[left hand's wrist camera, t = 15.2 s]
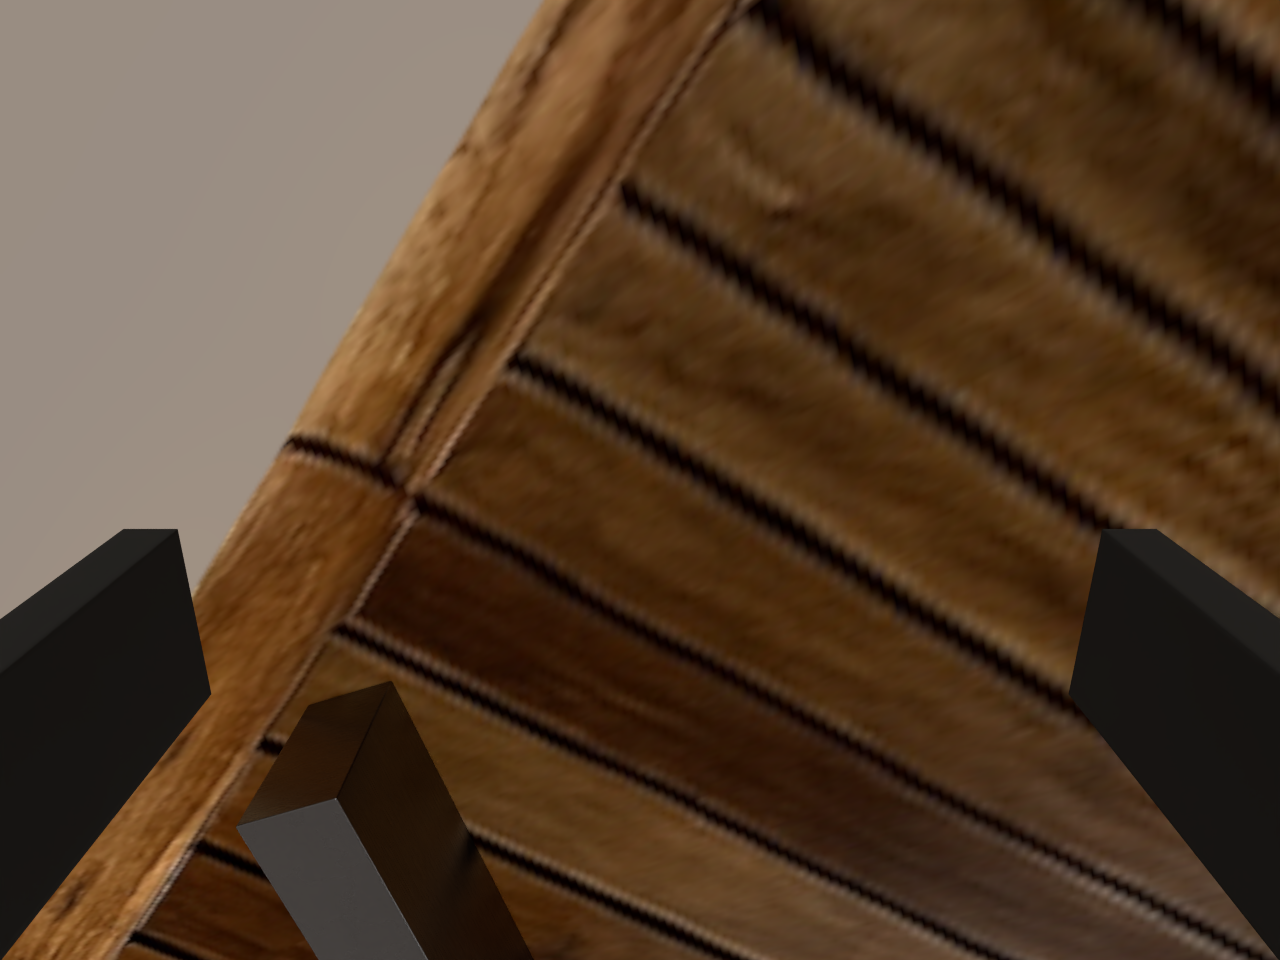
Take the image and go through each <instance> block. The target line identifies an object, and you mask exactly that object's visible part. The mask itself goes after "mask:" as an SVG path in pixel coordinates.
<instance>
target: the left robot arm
mask: <svg viewBox="0 0 1280 960" xmlns="http://www.w3.org/2000/svg"><path fill="white" fill-rule="evenodd" d="M210 695H211V690H210V685H209V680H208V676H207V671H206V666H205V661H204V656H203V651H202V646H201V641H200V636H199V632H198V627H197V622H196V617H195V612H194V607H193V602H192V597H191V592H190V588H189V583H188V578H187V573H186V568H185V563H184V558H183V553H182V548H181V544H180V539H179V534H178V529H123V530H122V531H120V532H119V533H118V534H116V535H115V536H113V537H112V538H111V539H109V540H108V541H107V542H105V543H104V544H103V545H101V546H100V547H98V548H97V549H96V550H94V551H93V552H92V553H90V554H89V555H88V556H86V557H85V558H83V559H82V560H81V561H79V562H78V563H77V564H75V565H74V566H72V567H71V568H70V569H68V570H67V571H66V572H64V573H63V574H62V575H60V576H59V577H57V578H56V579H55V580H53V581H52V582H51V583H49V584H48V585H46V586H45V587H44V588H42V589H41V590H40V591H38V592H37V593H36V594H34V595H33V596H31V597H30V598H29V599H27V600H26V601H25V602H23V603H22V604H20V605H19V606H18V607H16V608H15V609H14V610H12V611H11V612H10V613H8V614H7V615H5V616H4V617H3V618H1V619H0V960H2V958H3V957H4V956H5V954H6V953H7V952H8V951H9V949H10V948H11V947H12V946H13V944H14V943H15V942H16V941H17V939H18V938H19V937H20V935H21V934H22V933H23V932H24V930H25V929H26V928H27V927H28V925H29V924H30V923H31V922H32V920H33V919H34V918H35V917H36V915H37V914H38V913H39V911H40V910H41V909H42V908H43V906H44V905H45V904H46V903H47V901H48V900H49V899H50V898H51V896H52V895H53V894H54V892H55V891H56V890H57V889H58V887H59V886H60V885H61V884H62V882H63V881H64V880H65V879H66V877H67V876H68V875H69V873H70V872H71V871H72V870H73V868H74V867H75V866H76V865H77V863H78V862H79V861H80V860H81V858H82V857H83V856H84V854H85V853H86V852H87V851H88V849H89V848H90V847H91V846H92V844H93V843H94V842H95V841H96V839H97V838H98V837H99V836H100V834H101V833H102V832H103V830H104V829H105V828H106V827H107V825H108V824H109V823H110V822H111V820H112V819H113V818H114V817H115V815H116V814H117V813H118V811H119V810H120V809H121V808H122V806H123V805H124V804H125V803H126V801H127V800H128V799H129V798H130V796H131V795H132V794H133V792H134V791H135V790H136V789H137V787H138V786H139V785H140V784H141V782H142V781H143V780H144V779H145V777H146V776H147V775H148V774H149V772H150V771H151V770H152V768H153V767H154V766H155V765H156V763H157V762H158V761H159V760H160V758H161V757H162V756H163V755H164V753H165V752H166V751H167V749H168V748H169V747H170V746H171V744H172V743H173V742H174V741H175V739H176V738H177V737H178V736H179V734H180V733H181V732H182V730H183V729H184V728H185V727H186V725H187V724H188V723H189V722H190V720H191V719H192V718H193V717H194V715H195V714H196V713H197V711H198V710H199V709H200V708H201V706H202V705H203V704H204V703H205V701H206V700H207V699H208V698H209V696H210ZM1069 695H1070V696H1071V698H1072V699H1073V700H1074V701H1075V703H1076V704H1077V705H1078V706H1079V708H1080V709H1081V710H1082V711H1083V713H1084V714H1085V715H1086V717H1087V718H1088V719H1089V720H1090V722H1091V723H1092V724H1093V725H1094V727H1095V728H1096V729H1097V730H1098V732H1099V733H1100V734H1101V736H1102V737H1103V738H1104V739H1105V741H1106V742H1107V743H1108V744H1109V746H1110V747H1111V748H1112V749H1113V751H1114V752H1115V753H1116V755H1117V756H1118V757H1119V758H1120V760H1121V761H1122V762H1123V763H1124V765H1125V766H1126V767H1127V768H1128V770H1129V771H1130V772H1131V774H1132V775H1133V776H1134V777H1135V779H1136V780H1137V781H1138V782H1139V784H1140V785H1141V786H1142V787H1143V789H1144V790H1145V791H1146V792H1147V794H1148V795H1149V796H1150V798H1151V799H1152V800H1153V801H1154V803H1155V804H1156V805H1157V806H1158V808H1159V809H1160V810H1161V811H1162V813H1163V814H1164V815H1165V817H1166V818H1167V819H1168V820H1169V822H1170V823H1171V824H1172V825H1173V827H1174V828H1175V829H1176V830H1177V832H1178V833H1179V834H1180V836H1181V837H1182V838H1183V839H1184V841H1185V842H1186V843H1187V844H1188V846H1189V847H1190V848H1191V849H1192V851H1193V852H1194V853H1195V854H1196V856H1197V857H1198V858H1199V860H1200V861H1201V862H1202V863H1203V865H1204V866H1205V867H1206V868H1207V870H1208V871H1209V872H1210V873H1211V875H1212V876H1213V877H1214V879H1215V880H1216V881H1217V882H1218V884H1219V885H1220V886H1221V887H1222V889H1223V890H1224V891H1225V892H1226V894H1227V895H1228V896H1229V898H1230V899H1231V900H1232V901H1233V903H1234V904H1235V905H1236V906H1237V908H1238V909H1239V910H1240V911H1241V913H1242V914H1243V915H1244V917H1245V918H1246V919H1247V920H1248V922H1249V923H1250V924H1251V925H1252V927H1253V928H1254V929H1255V930H1256V932H1257V933H1258V934H1259V935H1260V937H1261V938H1262V939H1263V941H1264V942H1265V943H1266V944H1267V946H1268V947H1269V948H1270V949H1271V951H1272V952H1273V953H1274V954H1275V956H1276V957H1277V958H1278V960H1280V619H1279V618H1277V617H1276V616H1275V615H1273V614H1272V613H1270V612H1269V611H1268V610H1266V609H1265V608H1264V607H1262V606H1261V605H1260V604H1258V603H1257V602H1255V601H1254V600H1253V599H1251V598H1250V597H1249V596H1247V595H1246V594H1244V593H1243V592H1242V591H1240V590H1239V589H1238V588H1236V587H1235V586H1234V585H1232V584H1231V583H1229V582H1228V581H1227V580H1225V579H1224V578H1223V577H1221V576H1220V575H1219V574H1217V573H1216V572H1214V571H1213V570H1212V569H1210V568H1209V567H1208V566H1206V565H1205V564H1203V563H1202V562H1201V561H1199V560H1198V559H1197V558H1195V557H1194V556H1193V555H1191V554H1190V553H1188V552H1187V551H1186V550H1184V549H1183V548H1182V547H1180V546H1179V545H1177V544H1176V543H1175V542H1173V541H1172V540H1171V539H1169V538H1168V537H1167V536H1165V535H1164V534H1162V533H1161V532H1160V531H1158V530H1157V529H1102V534H1101V539H1100V544H1099V548H1098V553H1097V558H1096V563H1095V568H1094V573H1093V578H1092V583H1091V588H1090V592H1089V597H1088V602H1087V607H1086V612H1085V617H1084V622H1083V627H1082V632H1081V636H1080V641H1079V646H1078V651H1077V656H1076V661H1075V666H1074V671H1073V676H1072V680H1071V685H1070V690H1069Z"/></svg>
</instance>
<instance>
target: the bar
mask: <svg viewBox="0 0 1280 960" xmlns="http://www.w3.org/2000/svg"><path fill="white" fill-rule="evenodd" d="M236 828H237V830H238V832H239V833H240V835H241V836H242V838H243V840H244V841H245V843H246V844H247V846H248V848H249V849H250V851H251V852H252V854H253V856H254V857H255V859H256V860H257V862H258V864H259V865H260V867H261V868H262V870H263V871H264V873H265V875H266V876H267V878H268V879H269V881H270V883H271V884H272V886H273V887H274V889H275V891H276V892H277V894H278V895H279V897H280V899H281V900H282V902H283V903H284V905H285V907H286V908H287V910H288V911H289V913H290V915H291V916H292V918H293V919H294V921H295V923H296V924H297V926H298V927H299V929H300V931H301V932H302V934H303V935H304V937H305V939H306V940H307V942H308V943H309V945H310V947H311V948H312V950H313V951H314V953H315V954H316V956H317V958H318V959H319V960H533V958H532V956H531V954H530V952H529V950H528V948H527V947H526V945H525V943H524V941H523V939H522V937H521V935H520V933H519V931H518V929H517V927H516V925H515V923H514V921H513V919H512V917H511V915H510V913H509V911H508V909H507V907H506V905H505V903H504V901H503V899H502V897H501V895H500V893H499V892H498V890H497V888H496V886H495V884H494V882H493V880H492V878H491V876H490V874H489V872H488V870H487V868H486V866H485V864H484V862H483V860H482V858H481V856H480V854H479V852H478V850H477V848H476V846H475V844H474V842H473V840H472V838H471V837H470V835H469V833H468V831H467V829H466V827H465V825H464V823H463V821H462V819H461V817H460V815H459V813H458V811H457V809H456V807H455V805H454V803H453V801H452V799H451V797H450V795H449V793H448V791H447V789H446V787H445V785H444V783H443V782H442V780H441V778H440V776H439V774H438V772H437V770H436V768H435V766H434V764H433V762H432V760H431V758H430V756H429V754H428V752H427V750H426V748H425V746H424V744H423V742H422V740H421V738H420V736H419V734H418V732H417V730H416V728H415V727H414V725H413V723H412V721H411V719H410V717H409V715H408V713H407V711H406V709H405V707H404V705H403V703H402V701H401V699H400V697H399V695H398V693H397V691H396V689H395V687H394V685H393V683H392V682H391V681H389V682H386V683H383V684H379V685H376V686H372V687H369V688H366V689H362V690H359V691H356V692H352V693H349V694H345V695H342V696H339V697H335V698H332V699H328V700H325V701H322V702H318V703H315V704H312V705H309V706H308V707H307V709H306V710H305V712H304V714H303V715H302V717H301V719H300V720H299V722H298V724H297V726H296V727H295V729H294V731H293V732H292V734H291V736H290V737H289V739H288V741H287V742H286V744H285V746H284V747H283V749H282V751H281V752H280V754H279V756H278V757H277V759H276V761H275V762H274V764H273V766H272V767H271V769H270V771H269V772H268V774H267V776H266V777H265V779H264V781H263V782H262V784H261V786H260V788H259V789H258V791H257V793H256V794H255V796H254V798H253V799H252V801H251V803H250V804H249V806H248V808H247V809H246V811H245V813H244V814H243V816H242V818H241V819H240V821H239V823H238V824H237V826H236Z"/></svg>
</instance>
